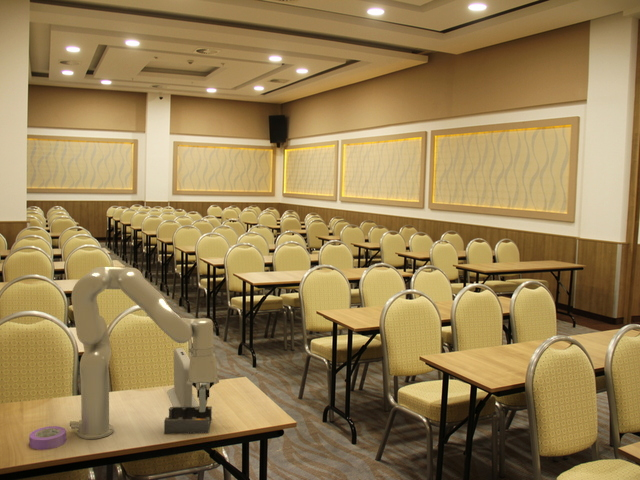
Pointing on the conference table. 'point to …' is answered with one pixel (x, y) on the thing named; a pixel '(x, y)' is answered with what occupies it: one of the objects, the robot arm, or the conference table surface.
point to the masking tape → (47, 437)
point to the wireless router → (181, 381)
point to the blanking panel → (202, 398)
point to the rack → (187, 420)
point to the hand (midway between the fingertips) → (203, 398)
